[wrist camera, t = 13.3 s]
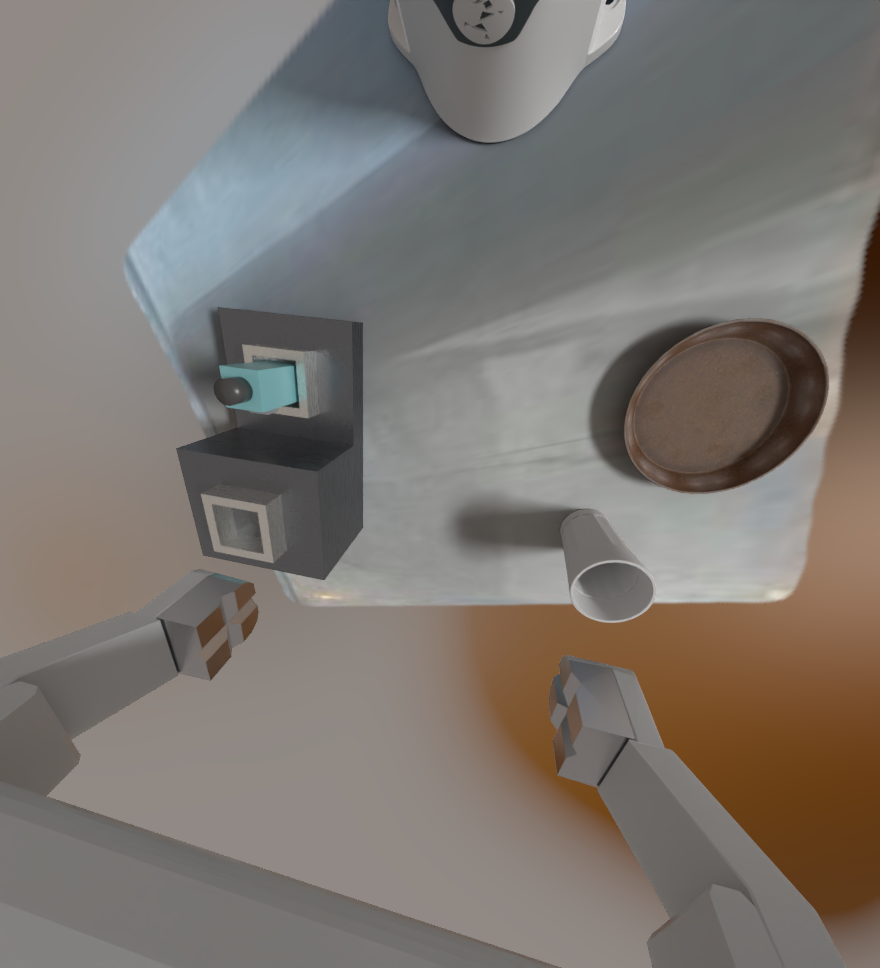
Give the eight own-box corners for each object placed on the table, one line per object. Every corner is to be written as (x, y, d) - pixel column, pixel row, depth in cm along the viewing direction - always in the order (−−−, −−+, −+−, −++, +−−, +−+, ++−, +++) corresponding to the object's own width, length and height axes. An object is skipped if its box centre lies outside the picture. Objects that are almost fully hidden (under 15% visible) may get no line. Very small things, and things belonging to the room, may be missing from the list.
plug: (271, 360, 39) (201, 367, 30) (303, 364, 38) (242, 372, 29) (276, 401, 41) (212, 419, 32) (306, 405, 40) (250, 425, 31)
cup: (586, 564, 46) (612, 634, 35) (541, 533, 45) (553, 595, 34) (631, 526, 42) (675, 590, 32) (583, 491, 42) (611, 545, 31)
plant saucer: (794, 468, 37) (817, 479, 34) (621, 495, 41) (629, 506, 39) (815, 294, 31) (845, 290, 28) (609, 348, 35) (618, 349, 32)
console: (236, 309, 40) (108, 295, 27) (362, 322, 38) (289, 315, 25) (265, 509, 52) (185, 568, 39) (362, 527, 50) (313, 595, 37)
